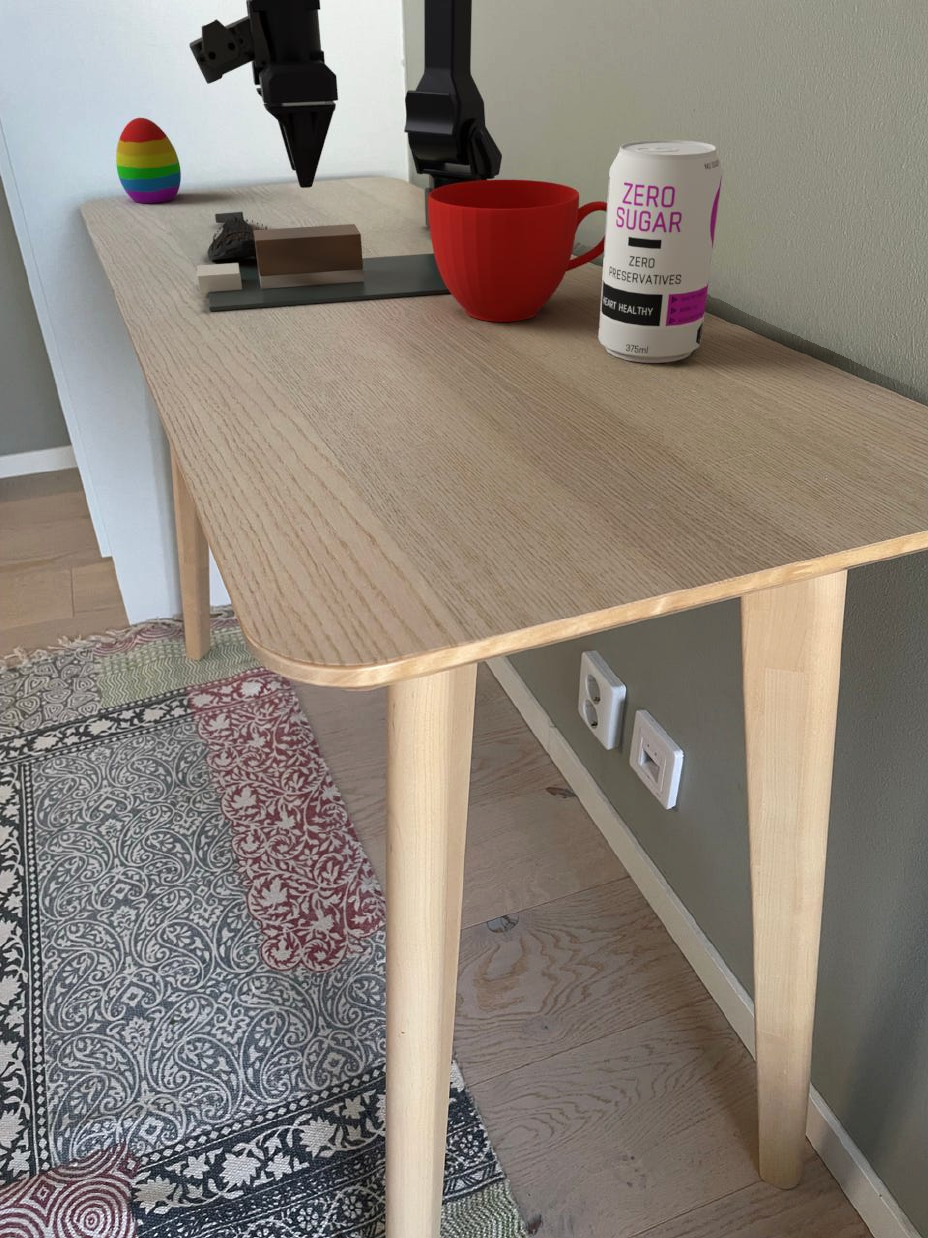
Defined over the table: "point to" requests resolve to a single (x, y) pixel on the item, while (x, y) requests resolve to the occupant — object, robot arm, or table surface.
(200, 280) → the chalk
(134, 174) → the decorative egg
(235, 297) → the slate board
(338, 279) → the eraser
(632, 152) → the white soda can
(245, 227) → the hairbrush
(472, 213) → the ceramic cup
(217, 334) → the table surface
